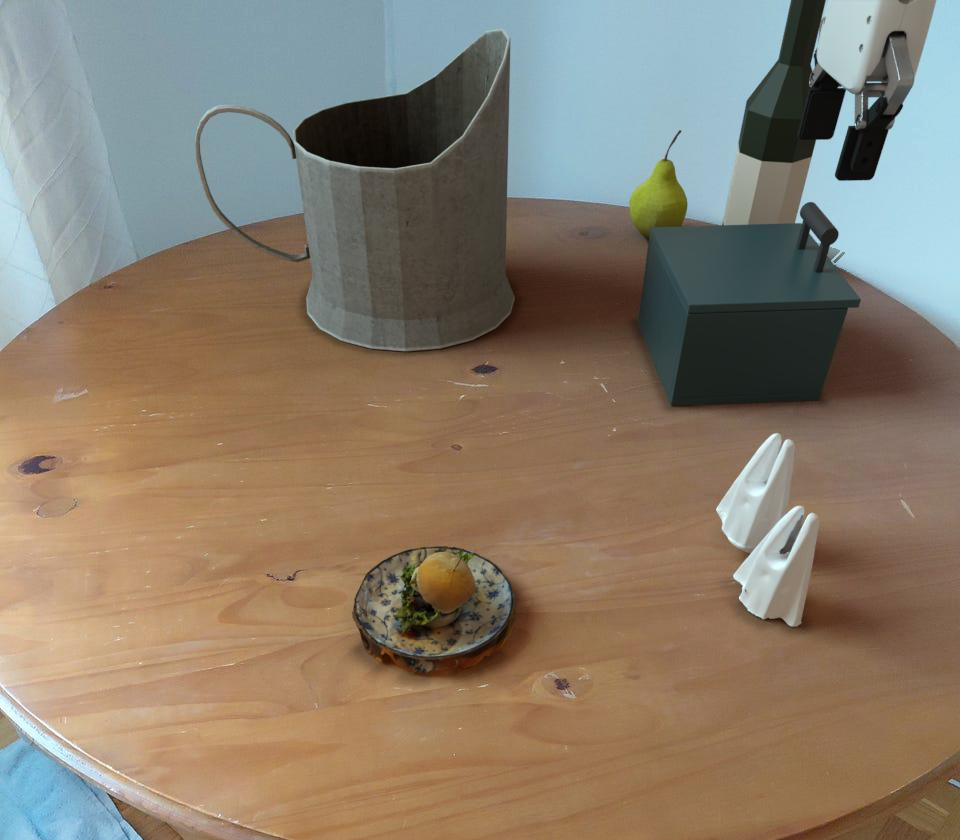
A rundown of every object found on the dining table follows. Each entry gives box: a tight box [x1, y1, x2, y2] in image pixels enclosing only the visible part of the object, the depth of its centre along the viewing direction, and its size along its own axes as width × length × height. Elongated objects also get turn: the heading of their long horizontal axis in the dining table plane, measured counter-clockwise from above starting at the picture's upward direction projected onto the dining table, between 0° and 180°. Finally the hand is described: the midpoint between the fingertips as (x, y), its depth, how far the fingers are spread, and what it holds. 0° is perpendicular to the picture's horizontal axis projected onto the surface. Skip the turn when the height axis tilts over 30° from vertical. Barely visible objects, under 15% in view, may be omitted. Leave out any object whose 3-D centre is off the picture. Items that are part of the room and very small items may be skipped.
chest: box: [637, 236, 849, 407], centre depth 88 cm, size 15×17×9 cm
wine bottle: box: [721, 0, 827, 225], centre depth 96 cm, size 8×8×30 cm
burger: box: [351, 545, 516, 674], centre depth 63 cm, size 12×12×8 cm
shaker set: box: [715, 432, 820, 627], centre depth 65 cm, size 12×4×11 cm, turn 3°
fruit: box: [628, 129, 688, 239], centre depth 107 cm, size 7×7×12 cm
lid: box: [650, 201, 862, 313], centre depth 83 cm, size 16×17×5 cm
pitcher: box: [194, 28, 516, 352], centre depth 90 cm, size 23×32×25 cm
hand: (832, 158), depth 78 cm, fingers open, 9 cm apart
